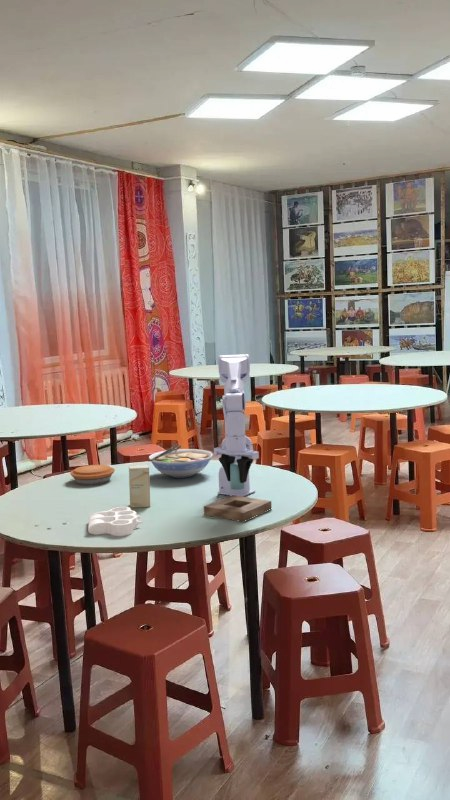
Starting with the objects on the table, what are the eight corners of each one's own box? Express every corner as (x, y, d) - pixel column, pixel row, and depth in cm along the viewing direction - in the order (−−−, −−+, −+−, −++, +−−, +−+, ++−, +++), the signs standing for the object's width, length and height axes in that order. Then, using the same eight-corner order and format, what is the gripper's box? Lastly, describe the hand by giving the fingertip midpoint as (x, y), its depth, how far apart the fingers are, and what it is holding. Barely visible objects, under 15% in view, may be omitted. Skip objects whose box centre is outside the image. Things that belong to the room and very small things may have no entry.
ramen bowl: (197, 486, 240) (196, 462, 239) (136, 482, 248) (135, 459, 247) (224, 469, 263) (223, 447, 262) (167, 466, 271) (166, 445, 270)
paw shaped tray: (89, 520, 206) (140, 516, 209) (88, 540, 189) (144, 535, 191) (88, 509, 206) (140, 505, 208) (87, 527, 188) (143, 522, 191)
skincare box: (130, 508, 216) (127, 468, 214) (130, 504, 220) (128, 465, 219) (151, 506, 217) (149, 467, 215) (151, 502, 221) (149, 464, 219)
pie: (117, 484, 247) (116, 470, 246) (71, 488, 243) (70, 474, 243) (113, 474, 262) (112, 461, 261) (70, 478, 258) (69, 464, 257)
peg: (227, 488, 207) (227, 464, 206) (236, 485, 210) (236, 462, 209) (238, 490, 204) (237, 466, 203) (247, 487, 207) (246, 463, 206)
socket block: (204, 514, 206) (203, 506, 206) (232, 502, 217) (232, 494, 217) (243, 521, 198) (243, 513, 198) (271, 509, 209) (271, 501, 209)
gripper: (206, 435, 206) (208, 481, 208) (248, 439, 197) (249, 487, 199) (221, 431, 211) (223, 476, 213) (262, 435, 203) (263, 481, 205)
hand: (236, 481), depth 207 cm, fingers closed on peg, 4 cm apart
